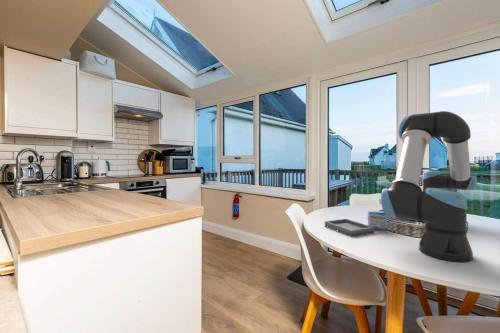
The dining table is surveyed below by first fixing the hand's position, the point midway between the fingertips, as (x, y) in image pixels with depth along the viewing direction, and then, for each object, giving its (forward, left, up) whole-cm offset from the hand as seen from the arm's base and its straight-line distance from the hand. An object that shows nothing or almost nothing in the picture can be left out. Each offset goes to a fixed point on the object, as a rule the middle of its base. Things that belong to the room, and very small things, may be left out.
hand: (391, 203), depth 122 cm
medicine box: (0, +10, -12) cm, 16 cm away
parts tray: (+5, +24, -12) cm, 27 cm away
